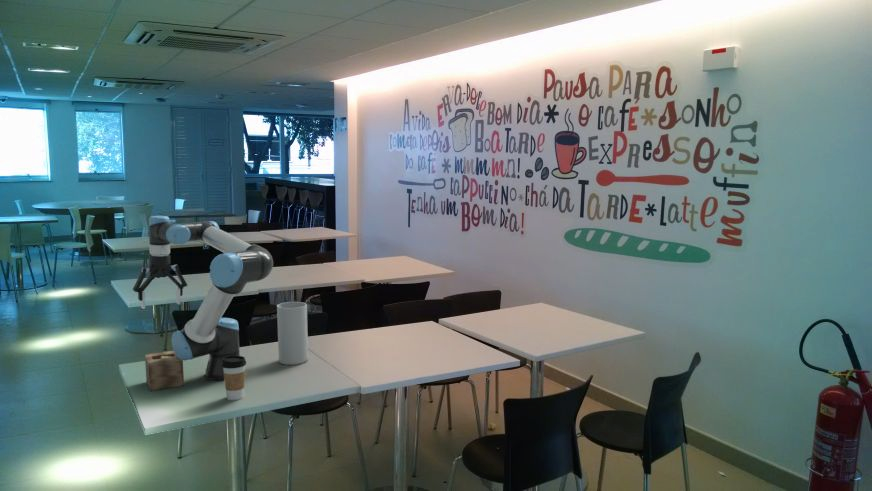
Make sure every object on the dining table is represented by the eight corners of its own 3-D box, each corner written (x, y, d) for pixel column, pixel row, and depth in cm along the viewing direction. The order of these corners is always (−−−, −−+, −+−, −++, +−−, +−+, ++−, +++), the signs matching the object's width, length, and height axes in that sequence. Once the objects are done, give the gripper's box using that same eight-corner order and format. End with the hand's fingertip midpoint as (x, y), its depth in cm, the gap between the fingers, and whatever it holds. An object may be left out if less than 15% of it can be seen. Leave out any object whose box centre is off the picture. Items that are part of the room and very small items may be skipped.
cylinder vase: (314, 359, 265) (312, 304, 262) (293, 367, 255) (291, 309, 252) (293, 354, 272) (292, 300, 269) (272, 362, 262) (270, 305, 259)
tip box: (179, 376, 244) (177, 350, 242) (184, 385, 233) (182, 358, 232) (146, 381, 237) (144, 354, 236) (150, 391, 227) (148, 363, 226)
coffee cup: (226, 393, 225) (224, 354, 223) (249, 392, 226) (248, 353, 224) (220, 402, 217) (218, 361, 215) (244, 401, 217) (242, 361, 216)
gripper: (188, 250, 252) (189, 299, 255) (123, 255, 236) (125, 307, 239) (195, 253, 247) (195, 303, 250) (128, 258, 230) (130, 312, 233)
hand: (161, 306), depth 244 cm, fingers open, 13 cm apart
